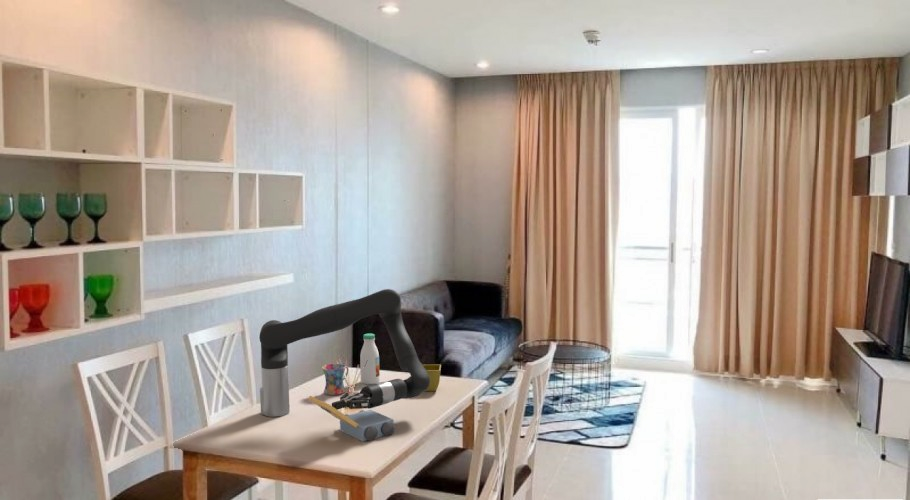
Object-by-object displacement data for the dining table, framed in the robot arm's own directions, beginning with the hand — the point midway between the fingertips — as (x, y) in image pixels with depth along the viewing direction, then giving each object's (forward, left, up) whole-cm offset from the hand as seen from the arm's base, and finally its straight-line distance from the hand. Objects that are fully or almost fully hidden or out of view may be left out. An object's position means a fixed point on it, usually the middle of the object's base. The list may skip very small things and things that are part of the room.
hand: (333, 406), depth 231 cm
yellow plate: (+3, +4, -6) cm, 8 cm away
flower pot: (+16, +60, -11) cm, 63 cm away
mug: (-19, +50, -11) cm, 55 cm away
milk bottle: (-11, +66, -11) cm, 68 cm away
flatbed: (+8, +10, -11) cm, 17 cm away
